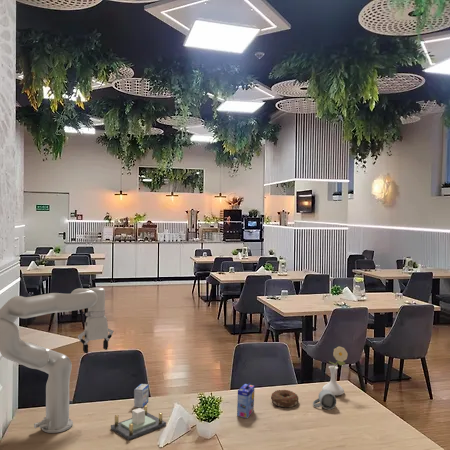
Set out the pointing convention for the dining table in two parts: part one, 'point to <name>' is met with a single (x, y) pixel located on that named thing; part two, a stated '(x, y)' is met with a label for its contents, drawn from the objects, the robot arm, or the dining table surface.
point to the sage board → (135, 427)
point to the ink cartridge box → (245, 400)
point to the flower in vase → (333, 385)
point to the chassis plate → (132, 434)
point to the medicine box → (141, 395)
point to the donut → (284, 398)
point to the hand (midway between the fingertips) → (95, 350)
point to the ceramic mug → (325, 400)
